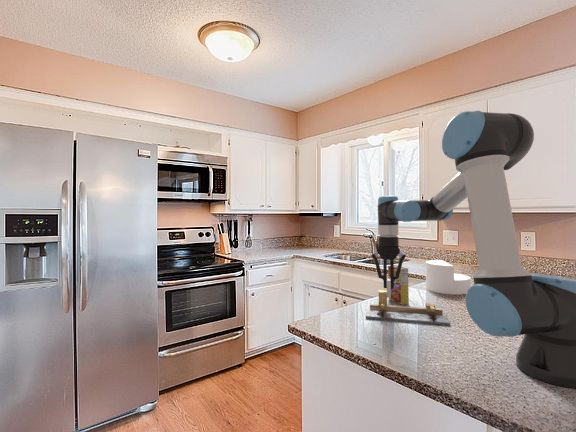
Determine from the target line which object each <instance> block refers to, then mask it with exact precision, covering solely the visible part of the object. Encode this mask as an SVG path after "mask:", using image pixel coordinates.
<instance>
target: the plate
mask: <svg viewBox="0 0 576 432" xmlns="http://www.w3.org/2000/svg"><path fill="white" fill-rule="evenodd" d="M365 314H366V315H365V320H373V321H374V320H376V321H385V320H386V321H387V322H399V323H408V324H409V323H413V324H423V325H436V326H446V327H447V326H449V327H450V326H451V322H450V319H449V317H448V316H447V315H444V314H443V315H434V317H432V315H430V314H416V313H402V312H389V311H384V314H382V313H381V311H375V310H370V309H366V313H365ZM386 321H385V322H386Z"/></svg>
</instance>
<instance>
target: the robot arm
mask: <svg viewBox="0 0 576 432" xmlns="http://www.w3.org/2000/svg"><path fill="white" fill-rule="evenodd" d="M534 139H535V132H534V129H533V126H532V124H531V122H529V120H528V119H526V118H525V117H524V116H521V115H520V114H515V113H509V112H508V113H503V112H490V111H489V112H488V111H486V112H485V111H481V110H475V111H471V110H470V111H469V110H468V111H463V112H460V113H458V114H457V115H455V116H453V117H452V118H451V119H450V121H449V122H448V123H447V126H446V128H445V130H444V131H443V135H442V139H441V149H442V152H443V154H444V155H445V156H446V157H447V158H449V159H450V160H454V164H455V169H456V171H458V172H457V174H456V175H455V176H454V177H453V178H451V180H450V181H448V182H447V183H446V184H445V185H444V186H443V187H442V188H441V189H440V190H439V191H437V193H436V194H434V196H432V197H431V198H430V199H424V200H423V199H418V200H417V199H416V200H415V199H414V200H413V199H403V200H399V197H398V196H396V195H384V196H383V195H381V196H379V197H378V198H377V224H378V225H377V235H378V237H377V240H378V241H377V242H378V243H377V244H378V245H377V246H378V247H377V249H376V251H375V252H372V253H371V257H372V259H373V260H374V265H375V268H376V272H377V276H378V278H379V279H382V281H383V288H384V289H386V290H387V298H388V299H389V298H391V289H393V288H394V280H395V279H398V278H399V275H400V271H401V267H403V266H402V265H403V262H404V260H405V259H406V257H407V255H406V254H405V253H403V252H401V250H400V248H399V246H400V245H399V244H400V243H399V237H398V236H399V222H403V223H411V222H422V221H423V222H427V221H428V222H433V221H434V222H441V221H447V220H449V219H451V218H452V215H453V212H454V208H455V207H457V206H458V205H460V204H461V203H462V202H464V201H465V200H466V199H467V202H468V208H469V215H470V220H471V227H472V233H473V239H474V245H475V246H474V247H475V253H476V258H477V259H476V260H477V264H478V269H477V271H476V272H475V273H474V274H473V276H472V278H473V279H472V280H473V285H471V287H470V288H469V289H468V291H467V292H468V293H467V294H465V306H466V310H467V313H468V315H469V317H470V319H471V320H472V321H473V323H474V324H475V325H476V326H477V327H478V328H479V329H480V330H481V331H482V332H483V333H485V334H487V335H490V336H493V337H508V338H513V337H517V336H523V337H522V340H521V343H520V345H519V348H518V350H517V352H516V355H515V360H516V361H515V365H516V367H517V368H518V369H519V370H520V371H521V372H522V373H524V374H526V375H527V376H530V377H532V378H533V379H536V380H538V381H542V382H545V383H547V384H551V385H555V386H561V387H565V388H569V389H576V279H572V278H568V277H560V276H554V275H551V274H550V275H548V274H542V273H541V274H540V273H535V272H534V273H533V272H530V271H528V270H527V269H526V268H524V267H523V266H522V265H523V264H522V261H521V254H520V248H519V245H518V239H517V233H516V226H515V221H514V218H513V217H514V216H513V211H512V206H511V200H510V195H509V190H508V184H507V180H506V178H507V177H506V173H505V171H508V170H510V169H512V168H513V167H514V166H516V165H517V164H518V163H519V162H520V161H522V159H524V158H525V157H526V155H528V153H529V151H530V150H531V148H532V146H533V143H534ZM379 257H380V258H381V259H382V260H383V262H382V263H383V266H382V267H383V271H381V266H380V262H379V259H378V258H379ZM397 257H398V258H399V260H398V264H397V266H398V267H397V271H396V275H395V276H394V265H395V263H394V261H395V259H396V258H397ZM388 261H390V263H389V264H390V265H389V266H390V279H388V276H387V275H388V271H387V270H388V266H387V265H388V264H387V262H388ZM382 272H383V274H382Z"/></svg>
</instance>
